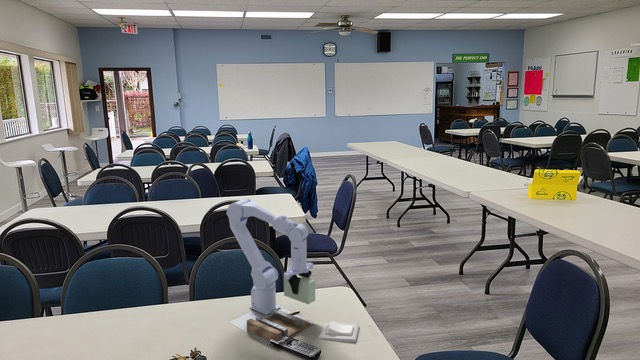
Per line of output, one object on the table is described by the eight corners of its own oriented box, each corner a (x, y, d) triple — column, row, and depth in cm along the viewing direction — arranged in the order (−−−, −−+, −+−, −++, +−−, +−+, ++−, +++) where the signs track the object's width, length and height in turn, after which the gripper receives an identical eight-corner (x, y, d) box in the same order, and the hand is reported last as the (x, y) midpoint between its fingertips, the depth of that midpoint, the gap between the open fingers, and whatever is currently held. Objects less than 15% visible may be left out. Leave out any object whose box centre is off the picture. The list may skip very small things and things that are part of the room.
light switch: (323, 316, 163) (359, 317, 161) (324, 327, 164) (359, 328, 161) (317, 331, 153) (355, 332, 150) (318, 342, 153) (355, 344, 151)
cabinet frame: (246, 331, 158) (246, 320, 158) (280, 313, 171) (280, 303, 171) (277, 345, 149) (277, 334, 148) (310, 325, 162) (310, 315, 161)
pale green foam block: (308, 304, 164) (308, 283, 162) (284, 295, 171) (283, 275, 170) (316, 299, 168) (316, 279, 166) (292, 291, 175) (292, 271, 173)
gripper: (294, 264, 158) (294, 301, 161) (319, 254, 169) (319, 287, 172) (279, 260, 162) (279, 295, 165) (305, 250, 174) (305, 283, 176)
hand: (299, 291), depth 169 cm, fingers closed on pale green foam block, 4 cm apart
